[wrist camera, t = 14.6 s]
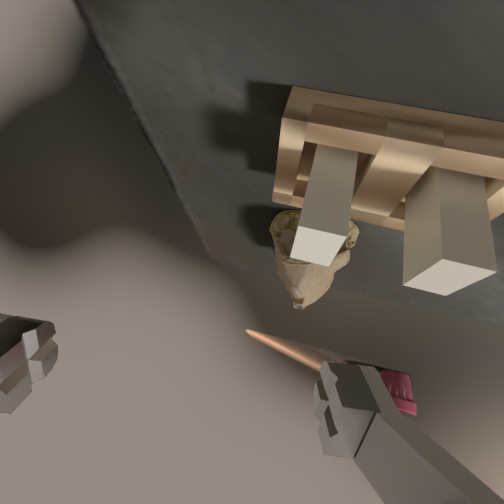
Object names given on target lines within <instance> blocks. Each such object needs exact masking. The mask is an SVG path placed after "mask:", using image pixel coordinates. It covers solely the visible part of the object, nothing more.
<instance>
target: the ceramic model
mask: <svg viewBox="0 0 504 504" xmlns="http://www.w3.org/2000/svg"><path fill="white" fill-rule="evenodd" d="M300 212H301V210H285V211H283V212H281V213H279V214H277V215H276V217H275V218H274V220H273V221H272V223H271V225H270V228H269V230H270V232H271V235H272V238H273V241H274V245H275V249H274V250H275V260H276V270H277V274H278V276H279V277H280V278H281V279H282V280H283V281H284V283H285V285H286V287H287V289H288V291H289V293H290V295H291V297H292V299H293V300H294V302H293V306H294V307H295V308H297V309H304V308H305V307H306V306H307V305H309V304H311V303H314V302H315V301H316V300H317V299H319V298H320V297H321V296H322V295H323V294H324V293H325V292H326V291H327V290H328V289H329V287H330V285H331V283H332V280H333V275H334V273H335V272H336V271H337V270H339V269H340V268H342V267H343V266H344V265H346V264H347V263H348V262H349V259H350V250H349V249H348V248H351V247H352V246H354V245H355V241H356V239H357V236H358V234H359V229H358V227H357V225H355V224H354V222H352V221H351V220H350V219H349V226H348V234H347V238H346V239H345V241H344V243H343V244H342V246H341V248H340V249H339V251H338V252H337V254H336V256H335V257H334V259H333V261H332V262H331V264H330V265H329V267H328V266H324V265H320V264H315V263H311V262H307V261H303V260H299V259H295V258H290V254H291V250H292V246H293V242H294V237H295V233H296V229H297V225H298V220H299V216H300Z"/></svg>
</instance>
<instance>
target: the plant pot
mask: <svg viewBox="0 0 504 504" xmlns="http://www.w3.org/2000/svg"><path fill="white" fill-rule="evenodd" d="M381 379H382V381H383V382H384V384H385V386H386V388H387V390H388V392H389V394H390V395H391V397H392V399H393V401H394V403H395V405H396V407H397V408H398V410H399V412H403V413H407V414H411V415H416V409H417V408H416V407H417V405H416V404H415V403H414V400H413V395H412V390H411V385H410V380H409V376H408V375H406V374H404V373H401V372H397V371H393V370H383V371H382V374H381Z"/></svg>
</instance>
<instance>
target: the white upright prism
mask: <svg viewBox="0 0 504 504" xmlns="http://www.w3.org/2000/svg"><path fill="white" fill-rule="evenodd" d="M496 272H498V271H497V265H496V258H495V251H494V244H493V237H492V231H491V224H490V217H489V210H488V203H487V197H486V190H485V183H484V176H480V175H475V174H470V173H465V172H460V171H455V170H450V169H445V168H440V167H434V166H429V167H428V169H427V170H426V171H425V172H424V173H423V175H422V176H421V177H420V178H419V180H418V181H417V182H416V183H415V184H414V186H413V187H412V188H411V189H410V191H409V192H408V193H407V194H406V195H405V221H404V263H403V285H405V286H409V287H413V288H417V289H421V290H425V291H429V292H433V293H437V294H441V295H445V296H446V295H448V294H451V293H453V292H455V291H457V290H459V289H461V288H464V287H466V286H468V285H470V284H472V283H474V282H477V281H479V280H481V279H483V278H485V277H488V276H490V275H492V274H494V273H496Z"/></svg>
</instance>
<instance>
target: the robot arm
mask: <svg viewBox="0 0 504 504" xmlns="http://www.w3.org/2000/svg"><path fill="white" fill-rule="evenodd" d="M55 333H56V332H55V327H54V324H53V323H51V322H49V321H44V320H38V319H32V318H26V317H20V316H12V315H6V314H0V413H9V414H11V413H12V412H13V411H14V410H15V409H16V408H17V407H18V406H19V405H20V404H21V402H23V400H24V399H25V398H26V397H27V396H28V395H29V394H30V393H31V392H32V384H34V383H36V382H38V381H40V380H42V379H44V378H45V377H46V376H47V375H48V373H49V372H50V371H51V370H52V368H53V366H54V364H55V362H56V360H57V356H58V346H57V344H56V343H55V342H54V341H53V340H52V337H53V336H54V334H55ZM320 373H321V378H320V379H318V380H317V381H316V383H315V387H314V392H313V406H314V412H315V415H316V416H317V418H318V419H319V420H320V421H321V424H320V426H319V429H318V431H319V436H320V440H321V445H322V449H323V454H325V455H331V456H337V457H344V458H349V459H355V460H354V462H355V463H356V465H357V466H358V467H359V469H360V470H361V472H362V473H363V474H364V476H365V477H366V479H367V480H368V481H369V483H370V484H371V486H372V487H373V488H374V490H375V491H376V493H377V494H378V495H379V497H380V498H381V500H382V501H383V502H384V504H504V500H503V499H501V498H500V497H499V496H498V495H497V494H496V493H494V492H493V491H492V490H491V489H490V488H489V487H488V486H487V485H485V484H484V483H483V482H482V481H481V480H480V479H478V478H477V477H476V476H475V475H474V474H473V473H471V472H470V471H469V470H468V469H467V468H466V467H464V466H463V465H462V464H461V463H460V462H459V461H458V460H456V459H455V458H454V457H453V456H452V455H451V454H449V453H448V452H447V451H446V450H445V449H444V448H442V447H441V446H440V445H439V444H438V443H437V442H435V441H434V440H433V439H432V438H431V437H430V436H429V435H427V434H426V433H425V432H424V431H423V430H422V429H420V428H419V427H418V426H417V425H416V424H414V423H413V422H412V421H411V420H410V419H409V418H408V417H405V416H401V414H400V412H399V410H398V408H397V407H396V405H395V403H394V401H393V399H392V397H391V395H390V394H389V392H388V390H387V388H386V386H385V384H384V382H383V381H382V379H381V377H380V375H379V373H378V371H377V370H376V369H375V368H374V367H372V366H364V365H354V364H346V363H339V362H331V361H324V362H323V363H322V365H321V368H320Z"/></svg>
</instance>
